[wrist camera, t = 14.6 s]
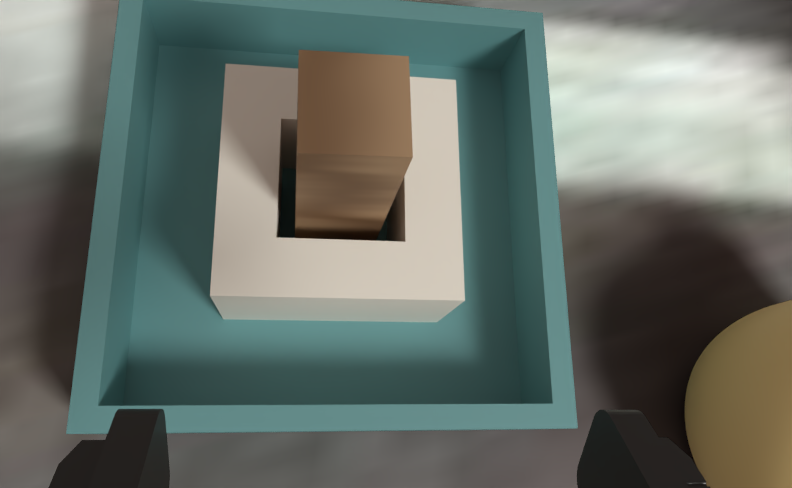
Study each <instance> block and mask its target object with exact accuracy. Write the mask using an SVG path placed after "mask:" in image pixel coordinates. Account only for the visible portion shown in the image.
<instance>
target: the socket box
mask: <svg viewBox="0 0 792 488" xmlns="http://www.w3.org/2000/svg"><path fill="white" fill-rule="evenodd" d="M299 50H313V51H330V52H346V53H363V54H380V55H397V56H409V71H410V97H411V122H412V148H413V158H412V160H411V162H410V165H409V167H408V169H407V171H406V174H405V176H404V178H403V180H402V183H401V185H400V187H399V190H398V192H397V194H396V196H395V199H394V201H393V203H392V205H391V208H390V210H389V212H388V214H387V217H386V219H385V221H384V223H383V226H382V228H381V230H380V232H379V235H378V237H377V239H376V241H370V240H339V239H309V238H295V184H296V142H297V99H298V57H299ZM118 409H163V410H164V413H165V421H166V433H239V432H331V431H422V430H514V429H568V428H578V427H577V415H576V403H575V391H574V379H573V368H572V356H571V344H570V332H569V320H568V308H567V297H566V285H565V273H564V261H563V249H562V237H561V225H560V214H559V202H558V190H557V178H556V166H555V154H554V143H553V131H552V119H551V107H550V95H549V83H548V72H547V60H546V48H545V36H544V24H543V13H537V12H526V11H514V10H503V9H492V8H480V7H469V6H458V5H446V4H435V3H424V2H413V1H401V0H119V8H118V16H117V24H116V32H115V40H114V48H113V57H112V65H111V73H110V81H109V89H108V97H107V105H106V114H105V122H104V130H103V138H102V146H101V154H100V163H99V171H98V179H97V187H96V195H95V203H94V212H93V220H92V228H91V236H90V244H89V252H88V261H87V269H86V277H85V285H84V293H83V301H82V310H81V318H80V326H79V334H78V342H77V350H76V358H75V367H74V375H73V383H72V391H71V399H70V407H69V416H68V424H67V432H66V434H108V432H109V429H110V426H111V423H112V421H113V418H114V415H115V413H116V411H117V410H118Z"/></svg>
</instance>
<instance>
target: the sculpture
mask: <svg viewBox="0 0 792 488" xmlns="http://www.w3.org/2000/svg"><path fill="white" fill-rule="evenodd" d="M685 426H686V433H687V438H688V442H689V446H690V450H691V453H692V456H693V458H694V461H695V463H696V466H697V468H698V469H699V471H700V473H701V474H702V476H703V477H704V479H705V480H706V485H707V486H710V488H792V300H789V301H786V302H782V303H778V304H775V305H771V306H768V307H765V308H763V309H760V310H757V311H755V312H753V313H751V314H749V315H746V316H745V317H743V318H741V319H739V320H737V321H736V322H734V323H733V324H731V325H730V326H728V327H727V328H726V329H724V330H723V331H722V332H721V333H719V334H718V335H717V336H716V337H715V338H714V339H713V340H712V341H711V342H710V343H709V344H708V346H707V347H706V348H705V349H704V351H703V352H702V354H701V355H700V357H699V358H698V360H697V362H696V364H695V366H694V368H693V370H692V372H691V375H690V378H689V381H688V385H687V390H686V397H685Z"/></svg>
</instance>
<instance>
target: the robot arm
mask: <svg viewBox="0 0 792 488" xmlns="http://www.w3.org/2000/svg"><path fill="white" fill-rule="evenodd" d="M169 480H170V470H169V457H168V445H167V433H166V421H165V413H164V410H163V409H118V410H117V411H116V413H115V415H114V418H113V421H112V423H111V426H110V429H109V432H108V434H107V437H106V440H82V441H81V442H80V443H79V444H78V445H77V446H76V447H75V448H74V449H73V450H72V451H71V452H70V453H69V454H68V455H67V456H66V457H65V458H64V459H63V460H62V461H61V462H60V463H59V465H58V467H57V469H56V472H55V474H54V476H53V479H52V481H51V483H50V486H49V488H169ZM577 485H578V488H710V486H707V485H706V480H705V479H704V477H703V476H702V474H701V473H700V471H699V469H698V468H697V466H696V465H695V463H694V462H693V460H692V459H691V458H690V457H689V456H688V455H687V454H686V453H685V452H684V451H682V450H681V449H680V448H679V447H678V446H677V445H676V444H674V443H673V442H672V441H671V440H670V439H669V438H668V437H658V436H657V434H656V433H655V431H654V430H653V428H652V426H651V425H650V423H649V421H648V420H647V418H646V417H645V415H644V414H643V413H642V412H641V411H639V410H599V411H598V412H597V413H596V414H595V416H594V419H593V422H592V425H591V428H590V431H589V434H588V437H587V440H586V443H585V446H584V449H583V452H582V455H581V458H580V461H579V465H578V470H577Z"/></svg>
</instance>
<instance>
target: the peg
mask: <svg viewBox="0 0 792 488" xmlns="http://www.w3.org/2000/svg"><path fill="white" fill-rule="evenodd" d="M412 158H413V148H412V122H411V97H410V71H409V56H397V55H380V54H363V53H346V52H330V51H313V50H299V57H298V99H297V142H296V184H295V238H309V239H339V240H370V241H376V239H377V237H378V235H379V232H380V230H381V228H382V226H383V223H384V221H385V219H386V217H387V214H388V212H389V210H390V208H391V205H392V203H393V201H394V199H395V196H396V194H397V192H398V190H399V187H400V185H401V183H402V180H403V178H404V176H405V174H406V171H407V169H408V167H409V165H410V162H411V160H412Z"/></svg>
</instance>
